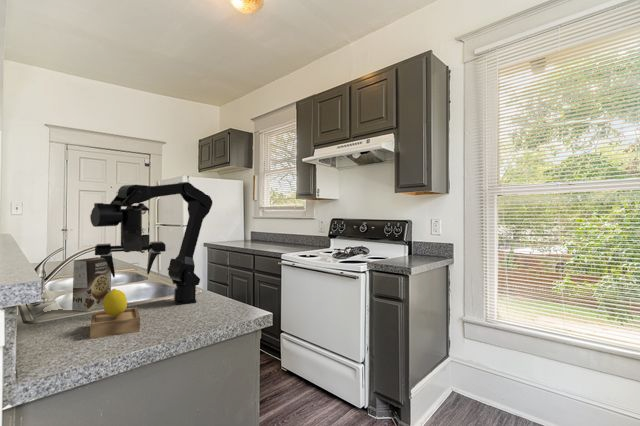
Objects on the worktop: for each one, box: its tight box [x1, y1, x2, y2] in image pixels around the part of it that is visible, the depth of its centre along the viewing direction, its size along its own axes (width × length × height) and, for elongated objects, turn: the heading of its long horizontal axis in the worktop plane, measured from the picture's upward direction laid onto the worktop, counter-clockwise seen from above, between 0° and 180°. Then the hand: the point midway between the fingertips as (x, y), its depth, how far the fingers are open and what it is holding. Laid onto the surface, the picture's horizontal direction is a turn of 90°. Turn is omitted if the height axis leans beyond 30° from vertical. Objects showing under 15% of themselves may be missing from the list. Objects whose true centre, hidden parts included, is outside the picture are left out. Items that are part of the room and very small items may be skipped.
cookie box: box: [71, 256, 112, 313], centre depth 110 cm, size 9×6×16 cm
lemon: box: [102, 288, 128, 318], centre depth 91 cm, size 6×6×8 cm
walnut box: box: [89, 306, 141, 340], centre depth 91 cm, size 11×11×4 cm
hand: (131, 275), depth 103 cm, fingers open, 9 cm apart
